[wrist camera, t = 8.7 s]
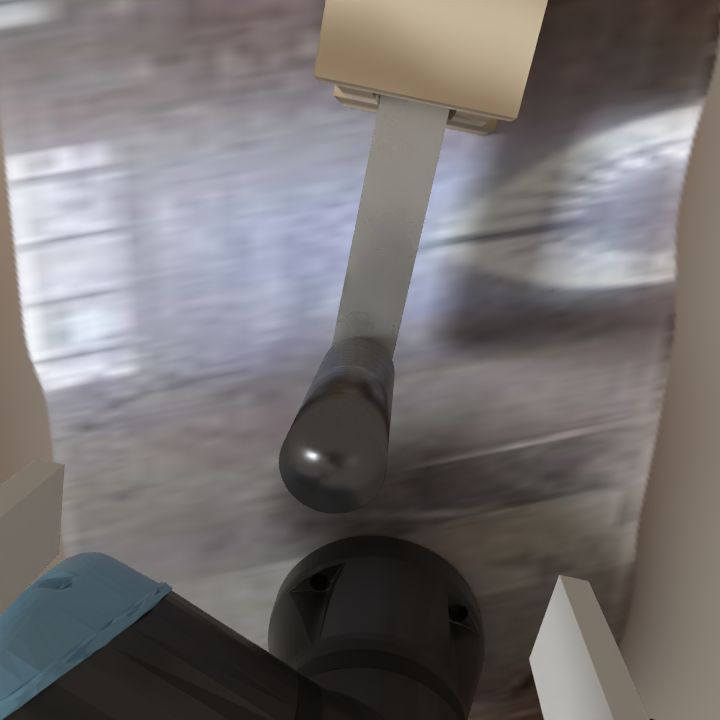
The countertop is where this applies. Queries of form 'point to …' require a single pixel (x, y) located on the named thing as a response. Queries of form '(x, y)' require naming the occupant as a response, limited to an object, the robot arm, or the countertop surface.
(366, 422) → the grey l-shaped piece
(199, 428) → the countertop surface
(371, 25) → the block
